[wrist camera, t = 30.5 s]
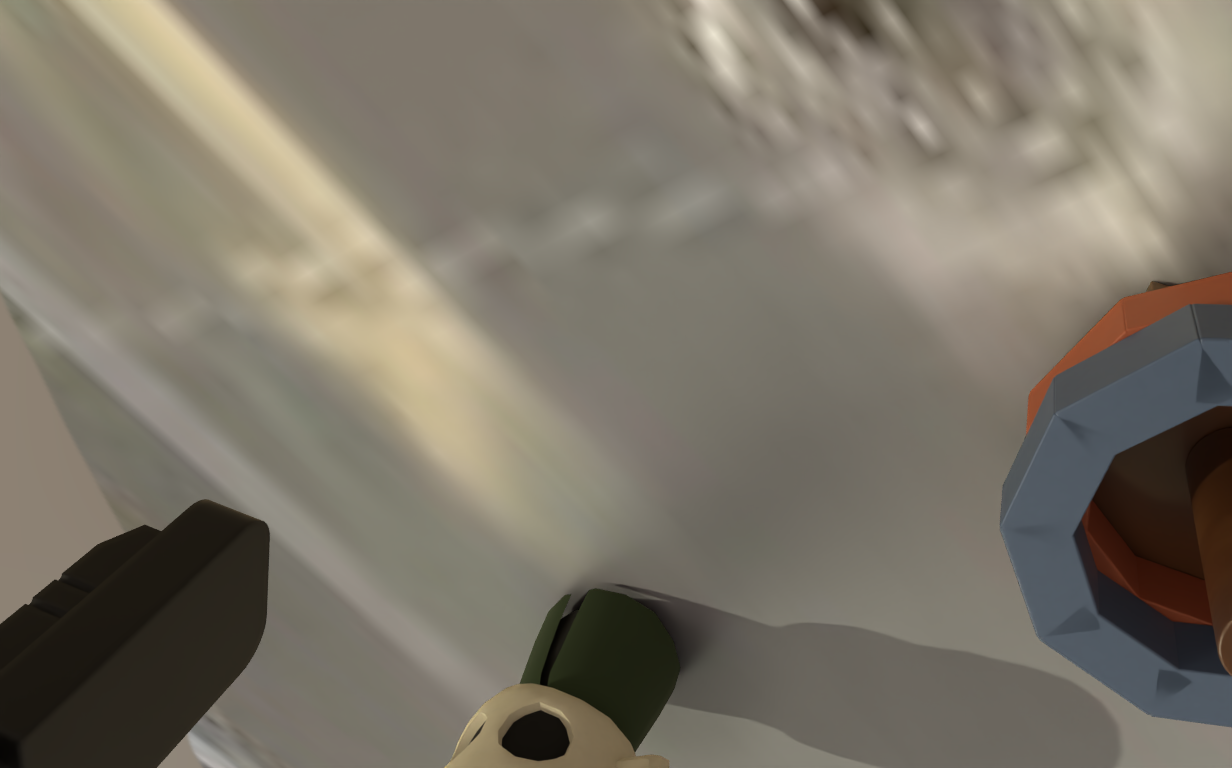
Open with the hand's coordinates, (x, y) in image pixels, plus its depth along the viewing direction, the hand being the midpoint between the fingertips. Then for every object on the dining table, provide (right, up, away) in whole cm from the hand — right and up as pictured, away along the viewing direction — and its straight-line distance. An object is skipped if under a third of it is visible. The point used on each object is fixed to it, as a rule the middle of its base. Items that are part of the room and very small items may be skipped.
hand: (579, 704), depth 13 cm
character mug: (0, -8, +38) cm, 39 cm away
